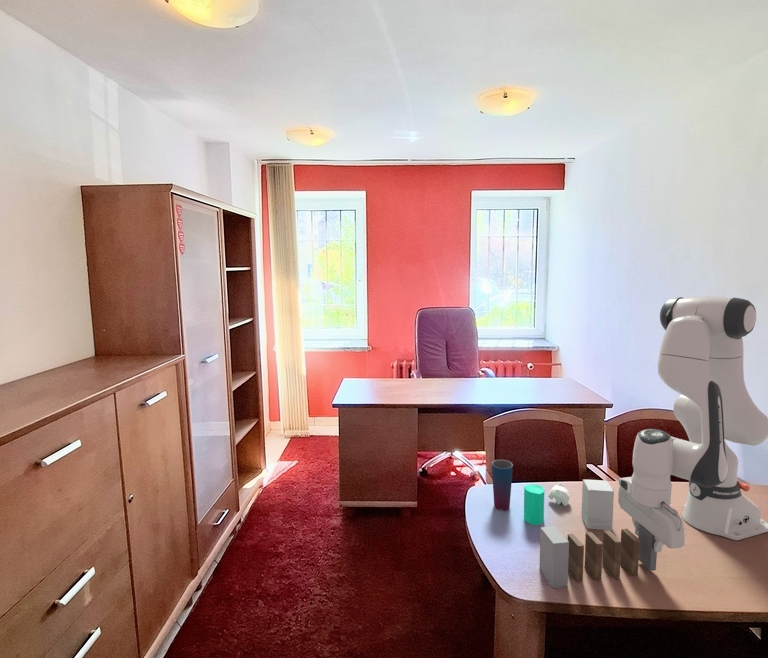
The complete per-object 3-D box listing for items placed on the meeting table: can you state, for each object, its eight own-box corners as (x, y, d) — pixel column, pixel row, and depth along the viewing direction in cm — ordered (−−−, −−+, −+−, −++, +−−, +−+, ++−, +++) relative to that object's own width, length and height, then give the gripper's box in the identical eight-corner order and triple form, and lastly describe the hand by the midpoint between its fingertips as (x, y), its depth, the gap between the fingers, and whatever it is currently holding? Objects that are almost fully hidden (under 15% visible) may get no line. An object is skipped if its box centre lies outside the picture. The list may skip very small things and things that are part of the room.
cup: (496, 499, 154) (497, 457, 152) (515, 505, 150) (516, 462, 148) (487, 507, 149) (488, 464, 147) (507, 514, 144) (507, 470, 142)
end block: (553, 567, 118) (555, 525, 117) (567, 586, 112) (568, 542, 110) (539, 569, 118) (540, 527, 116) (552, 588, 111) (553, 543, 109)
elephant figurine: (548, 495, 155) (549, 479, 154) (573, 500, 152) (574, 484, 151) (546, 505, 149) (546, 488, 148) (572, 510, 146) (572, 493, 145)
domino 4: (625, 563, 120) (627, 528, 118) (637, 575, 115) (639, 539, 113) (619, 563, 119) (621, 529, 118) (632, 576, 114) (633, 540, 113)
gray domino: (642, 557, 120) (644, 523, 119) (655, 570, 115) (658, 534, 114) (637, 558, 120) (638, 523, 118) (650, 570, 115) (652, 535, 113)
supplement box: (612, 531, 134) (614, 491, 132) (586, 529, 135) (587, 489, 134) (605, 517, 141) (607, 480, 139) (580, 515, 142) (582, 478, 141)
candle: (524, 523, 139) (525, 487, 137) (523, 513, 145) (523, 478, 143) (544, 525, 137) (545, 489, 136) (542, 515, 143) (543, 480, 142)
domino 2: (590, 566, 118) (591, 531, 117) (601, 579, 114) (602, 543, 112) (584, 567, 118) (585, 532, 117) (595, 580, 113) (596, 544, 112)
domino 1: (572, 568, 118) (573, 533, 117) (582, 581, 113) (584, 545, 112) (566, 569, 118) (567, 534, 116) (576, 582, 113) (578, 546, 111)
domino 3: (607, 564, 119) (609, 530, 118) (619, 577, 114) (621, 541, 113) (602, 565, 119) (603, 530, 117) (613, 578, 114) (615, 542, 113)
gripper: (694, 513, 105) (690, 567, 107) (635, 474, 125) (633, 520, 127) (669, 516, 104) (665, 570, 106) (614, 476, 124) (612, 522, 126)
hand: (647, 542), depth 117 cm, fingers closed on gray domino, 5 cm apart
